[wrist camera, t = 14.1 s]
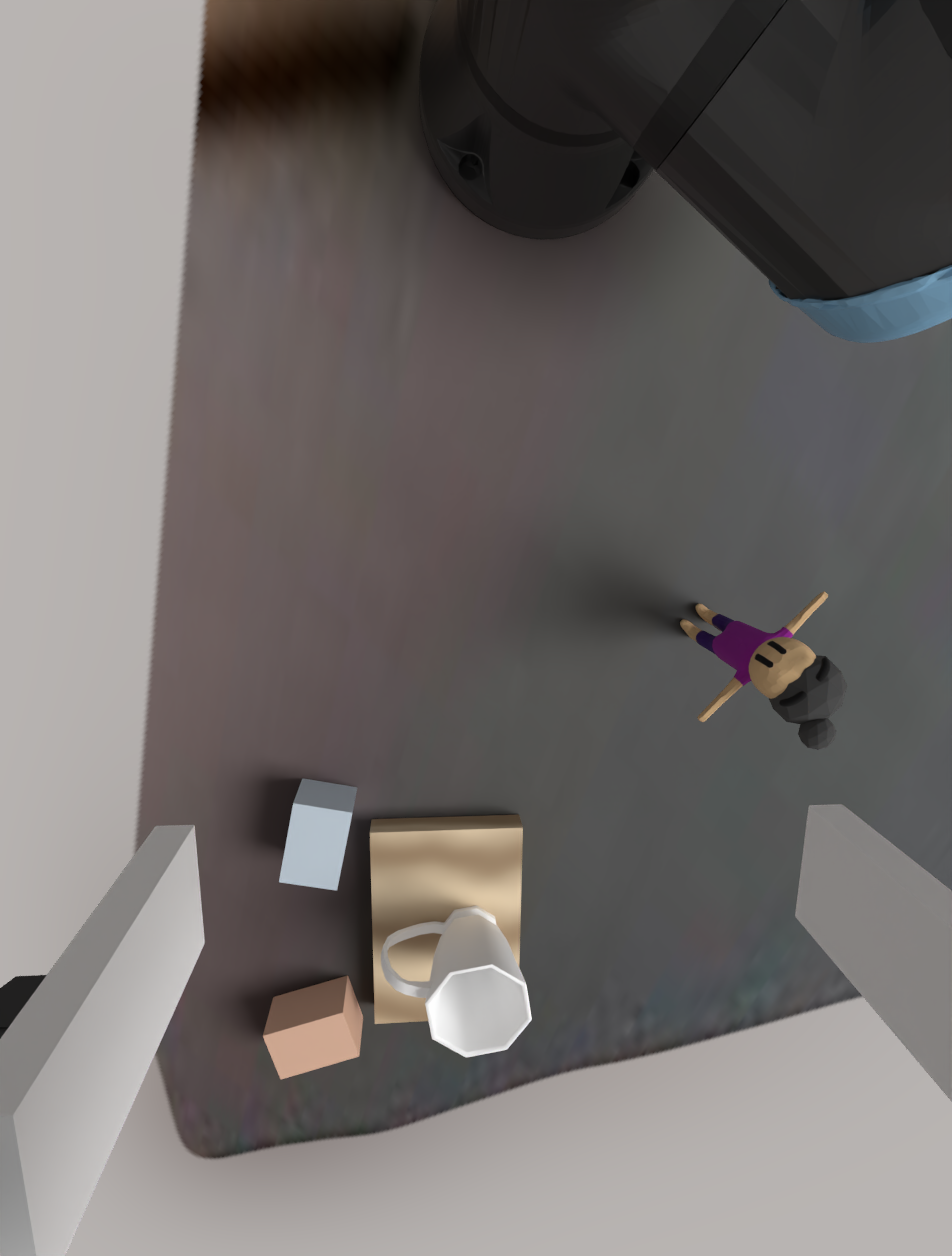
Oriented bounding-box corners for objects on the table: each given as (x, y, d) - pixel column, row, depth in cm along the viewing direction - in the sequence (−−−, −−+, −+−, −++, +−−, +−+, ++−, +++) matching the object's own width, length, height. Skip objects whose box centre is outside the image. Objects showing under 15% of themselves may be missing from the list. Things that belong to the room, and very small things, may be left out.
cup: (503, 978, 54) (518, 1065, 46) (374, 958, 52) (366, 1044, 44) (526, 897, 52) (546, 973, 44) (394, 875, 51) (390, 949, 43)
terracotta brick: (290, 1036, 56) (280, 1079, 52) (273, 995, 55) (262, 1035, 51) (363, 1015, 56) (359, 1056, 52) (347, 974, 55) (342, 1012, 51)
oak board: (371, 819, 52) (369, 832, 50) (518, 814, 53) (522, 827, 51) (376, 1004, 55) (374, 1023, 54) (514, 997, 56) (517, 1015, 54)
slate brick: (302, 777, 51) (293, 803, 47) (357, 786, 51) (352, 812, 48) (289, 851, 52) (278, 882, 48) (342, 859, 53) (336, 890, 49)
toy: (734, 552, 50) (866, 588, 35) (783, 603, 51) (931, 658, 36) (631, 659, 51) (718, 736, 36) (682, 707, 52) (786, 799, 37)
